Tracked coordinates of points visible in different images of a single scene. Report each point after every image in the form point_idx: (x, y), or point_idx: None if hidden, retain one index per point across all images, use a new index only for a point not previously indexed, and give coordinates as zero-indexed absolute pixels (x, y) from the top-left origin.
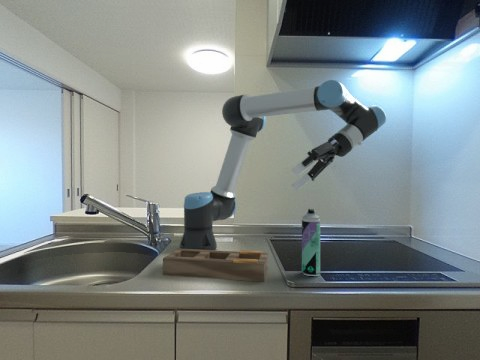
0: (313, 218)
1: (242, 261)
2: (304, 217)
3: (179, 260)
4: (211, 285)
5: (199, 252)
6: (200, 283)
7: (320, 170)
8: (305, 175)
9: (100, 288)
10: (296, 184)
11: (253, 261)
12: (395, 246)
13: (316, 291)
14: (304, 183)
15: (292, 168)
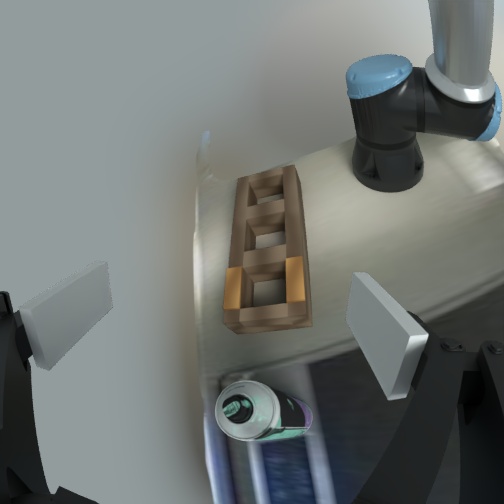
0: (216, 415)
1: (225, 283)
2: (227, 387)
3: (236, 197)
4: (215, 265)
5: (284, 197)
6: (221, 249)
7: (466, 480)
8: (395, 337)
9: (202, 176)
10: (358, 300)
11: (225, 302)
12: None
13: (207, 419)
14: (366, 351)
15: (93, 263)
